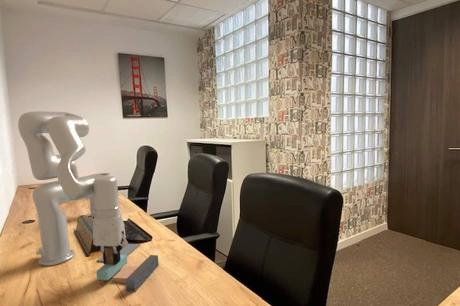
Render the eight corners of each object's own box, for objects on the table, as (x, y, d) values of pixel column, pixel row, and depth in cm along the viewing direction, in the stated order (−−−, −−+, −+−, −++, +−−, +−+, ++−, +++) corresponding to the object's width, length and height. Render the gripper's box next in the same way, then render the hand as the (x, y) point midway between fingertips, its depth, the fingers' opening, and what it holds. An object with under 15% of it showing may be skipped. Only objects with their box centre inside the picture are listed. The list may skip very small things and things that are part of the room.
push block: (97, 279, 95) (94, 253, 95) (117, 262, 107) (115, 239, 106) (107, 280, 95) (105, 254, 94) (127, 262, 106) (125, 239, 105)
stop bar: (126, 291, 91) (125, 279, 90) (151, 265, 107) (150, 255, 107) (135, 292, 90) (134, 280, 90) (158, 265, 107) (157, 255, 106)
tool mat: (96, 261, 112) (96, 260, 112) (119, 244, 128) (119, 243, 128) (119, 262, 110) (119, 261, 110) (140, 245, 126) (140, 244, 126)
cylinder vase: (86, 218, 170) (82, 177, 167) (100, 211, 182) (96, 173, 179) (104, 218, 167) (100, 176, 164) (117, 212, 179) (114, 173, 176)
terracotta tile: (113, 283, 97) (112, 277, 97) (126, 271, 105) (125, 265, 105) (134, 284, 95) (134, 278, 95) (146, 272, 103) (145, 267, 103)
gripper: (79, 215, 97) (84, 266, 98) (123, 216, 93) (127, 269, 95) (94, 208, 104) (98, 256, 106) (135, 209, 101) (138, 258, 103)
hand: (112, 262), depth 101 cm, fingers closed on push block, 3 cm apart
